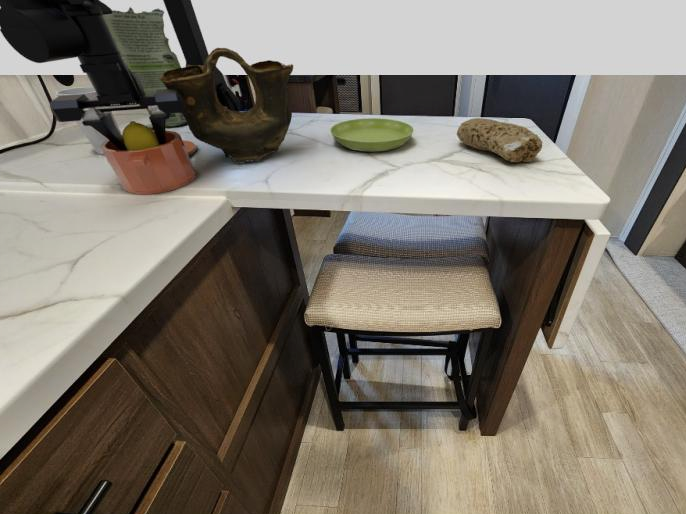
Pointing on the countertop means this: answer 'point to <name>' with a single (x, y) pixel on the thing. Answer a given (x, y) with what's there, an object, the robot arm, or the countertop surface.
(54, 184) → the countertop surface
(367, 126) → the saucer
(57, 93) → the cup
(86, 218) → the countertop surface
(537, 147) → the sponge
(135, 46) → the pouch
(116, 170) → the pot
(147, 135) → the lemon
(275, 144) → the pottery vessel
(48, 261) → the countertop surface
